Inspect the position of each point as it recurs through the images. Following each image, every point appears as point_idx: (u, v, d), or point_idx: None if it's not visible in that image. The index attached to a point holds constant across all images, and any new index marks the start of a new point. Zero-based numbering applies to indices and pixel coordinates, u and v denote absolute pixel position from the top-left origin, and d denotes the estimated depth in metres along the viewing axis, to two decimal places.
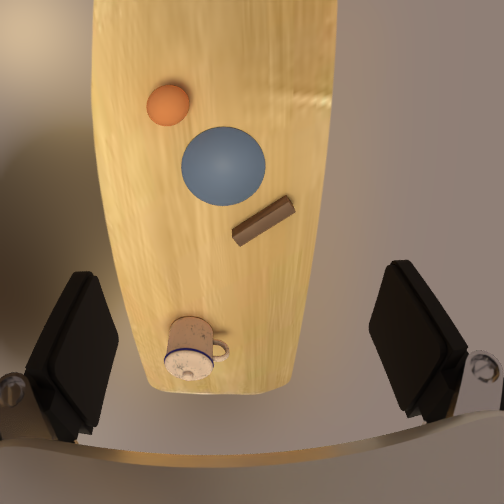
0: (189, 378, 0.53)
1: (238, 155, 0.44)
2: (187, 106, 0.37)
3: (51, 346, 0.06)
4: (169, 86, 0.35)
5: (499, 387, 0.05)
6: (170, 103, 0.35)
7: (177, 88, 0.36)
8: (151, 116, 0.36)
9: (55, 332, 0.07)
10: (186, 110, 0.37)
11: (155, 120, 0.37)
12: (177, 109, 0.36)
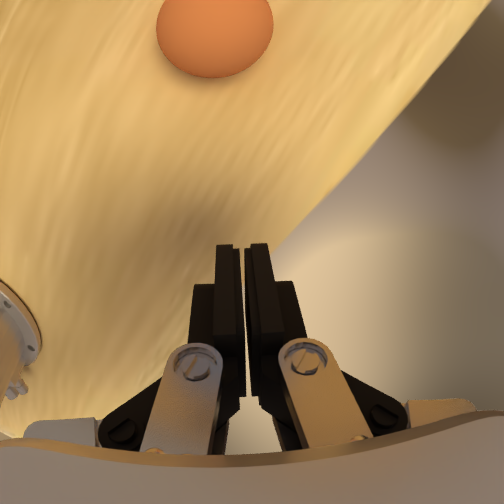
0: None
1: None
2: None
3: (235, 311, 0.08)
4: (174, 62, 0.13)
5: (334, 366, 0.07)
6: (189, 17, 0.10)
7: (161, 46, 0.12)
8: (264, 23, 0.11)
9: (230, 298, 0.08)
10: None
11: (262, 8, 0.11)
12: None
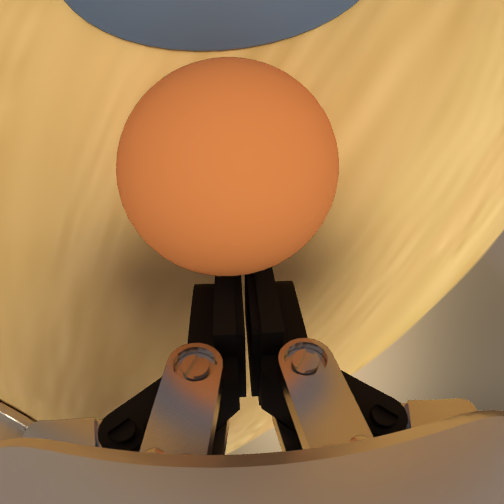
0: None
1: None
2: None
3: (235, 311, 0.08)
4: (143, 229, 0.07)
5: (334, 366, 0.07)
6: (174, 99, 0.05)
7: (121, 196, 0.07)
8: (327, 131, 0.06)
9: (230, 298, 0.08)
10: None
11: (318, 104, 0.07)
12: (174, 73, 0.06)
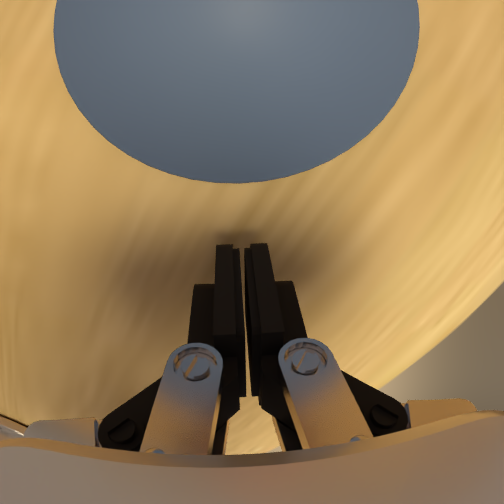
0: None
1: (143, 16, 0.07)
2: None
3: (235, 311, 0.08)
4: None
5: (334, 366, 0.07)
6: None
7: None
8: None
9: (230, 298, 0.08)
10: None
11: None
12: None
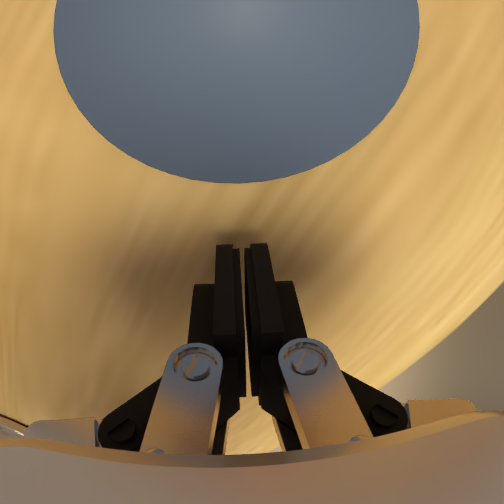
0: None
1: (143, 16, 0.07)
2: None
3: (235, 311, 0.08)
4: None
5: (334, 366, 0.07)
6: None
7: None
8: None
9: (230, 298, 0.08)
10: None
11: None
12: None
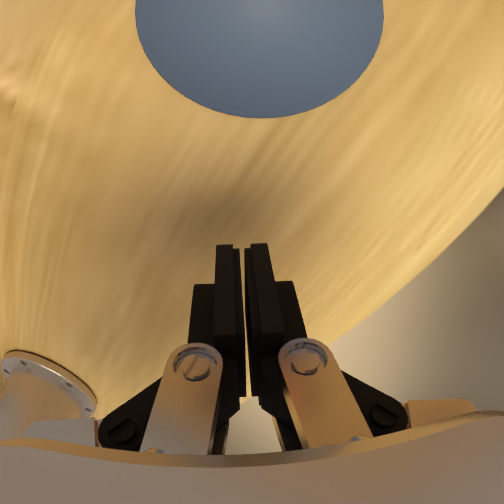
0: None
1: (200, 8, 0.12)
2: None
3: (234, 311, 0.08)
4: None
5: (334, 366, 0.07)
6: None
7: None
8: None
9: (230, 298, 0.08)
10: None
11: None
12: None
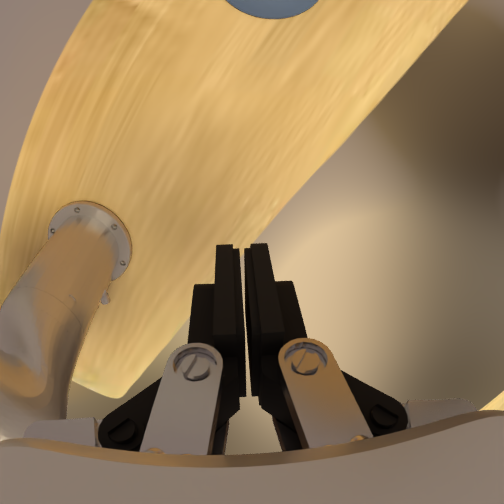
0: None
1: None
2: None
3: (234, 311, 0.08)
4: None
5: (334, 366, 0.07)
6: None
7: None
8: None
9: (230, 298, 0.08)
10: None
11: None
12: None
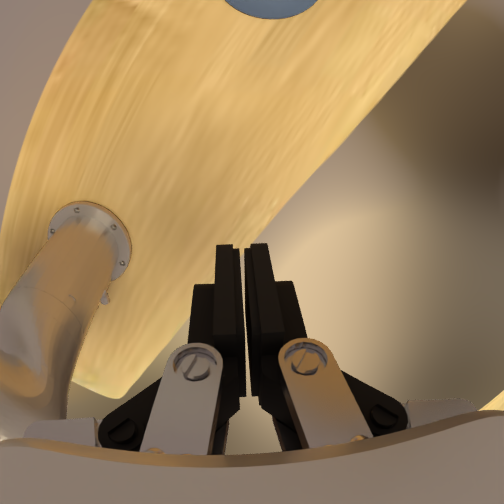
0: None
1: None
2: None
3: (234, 311, 0.08)
4: None
5: (334, 366, 0.07)
6: None
7: None
8: None
9: (230, 298, 0.08)
10: None
11: None
12: None
